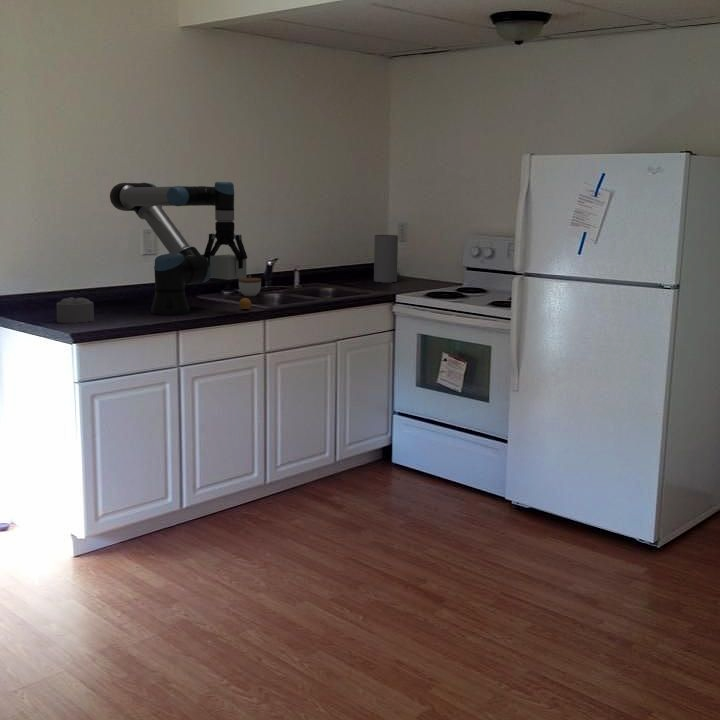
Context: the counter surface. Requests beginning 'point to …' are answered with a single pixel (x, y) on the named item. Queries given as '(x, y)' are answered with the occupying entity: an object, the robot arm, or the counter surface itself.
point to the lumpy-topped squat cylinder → (74, 310)
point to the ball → (245, 303)
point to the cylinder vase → (385, 258)
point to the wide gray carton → (225, 267)
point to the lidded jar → (249, 286)
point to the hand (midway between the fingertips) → (225, 276)
